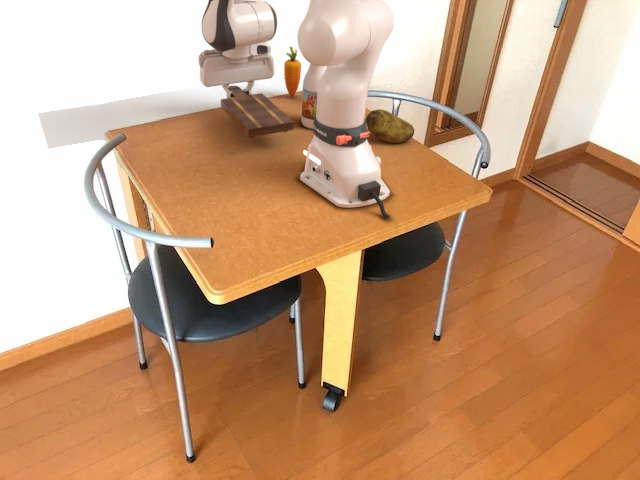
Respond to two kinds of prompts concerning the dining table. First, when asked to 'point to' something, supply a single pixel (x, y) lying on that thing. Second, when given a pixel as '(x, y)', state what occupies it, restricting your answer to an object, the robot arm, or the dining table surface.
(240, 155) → the dining table surface
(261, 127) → the cutting board
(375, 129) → the potato
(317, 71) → the milk bottle
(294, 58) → the carrot
